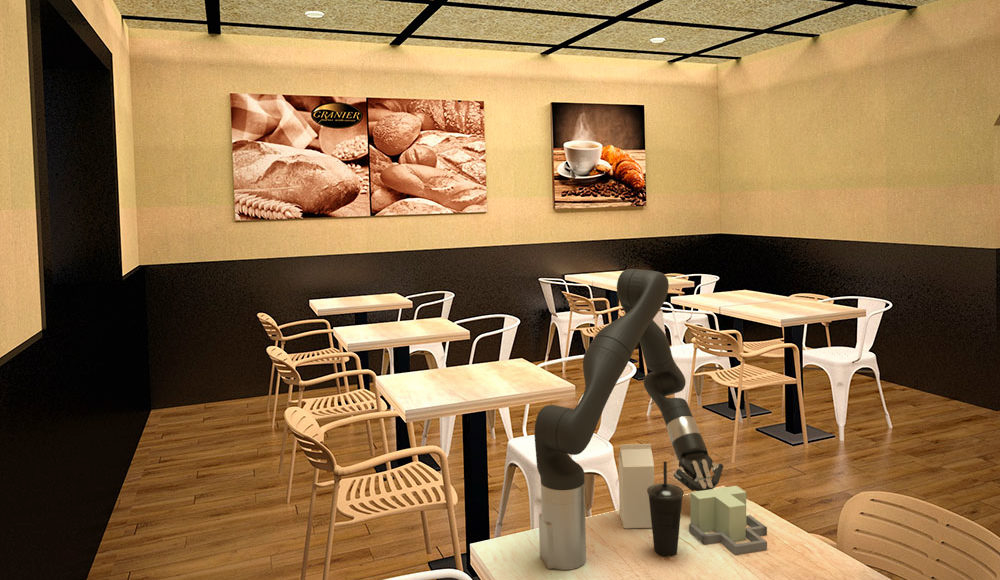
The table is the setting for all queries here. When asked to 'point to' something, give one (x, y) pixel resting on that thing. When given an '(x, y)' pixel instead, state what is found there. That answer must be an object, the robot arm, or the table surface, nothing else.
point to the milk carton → (635, 485)
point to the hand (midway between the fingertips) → (711, 505)
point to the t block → (720, 511)
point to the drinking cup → (665, 515)
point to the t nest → (751, 533)
